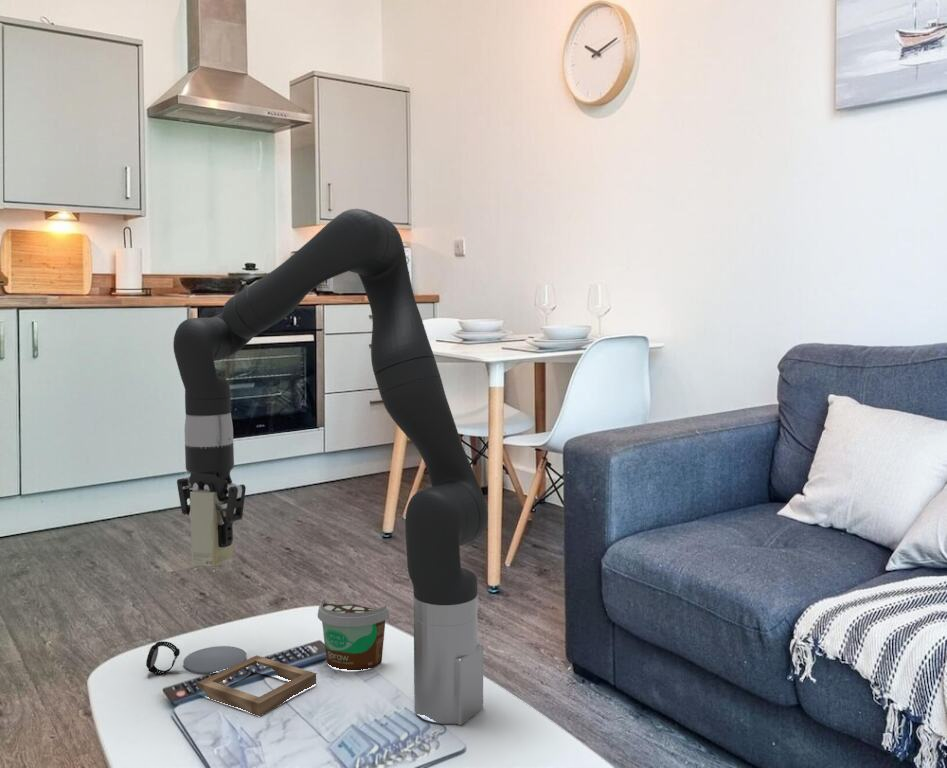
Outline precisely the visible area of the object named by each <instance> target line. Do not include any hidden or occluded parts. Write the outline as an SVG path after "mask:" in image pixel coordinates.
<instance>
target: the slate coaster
mask: <svg viewBox="0 0 947 768" xmlns="http://www.w3.org/2000/svg"><path fill="white" fill-rule="evenodd" d="M245 660H247V652H246V651H245V650H244V649H242V648H240V647H238V646H237V647H236V646H230V645H217V646H210V647H205V648H201V649H198V650H195V651H193V652H191V653H189V654H188V655H187V656H185V657H184V658H183V668H184V670H186V671H188V672H189V673H192V674H197V675H211V674H210V673H213V672H216V671H220V670H223V669H227V668H230V667H232V666H234V665H236V664H238V663H241V662H243V661H245Z"/></svg>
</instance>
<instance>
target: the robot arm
mask: <svg viewBox="0 0 947 768" xmlns="http://www.w3.org/2000/svg"><path fill="white" fill-rule="evenodd" d="M400 233H401V232H399V230H398V228H397V227H396V226H395V225H394V224H393V223H392V222H391V221H390V220H388V219H387V218H385V217H383V216H381V215H378V214H376V213H374V212H371V211H368V210H366V209H362V208H361V209H360V208H350V209H347V210H345V211H342V212H340V214H338V215H337V216H335V217H334V218H333V219H331V220H330V221H329V222H328V223H327V224H326V225H325V226H323V228H321V229H320V230H319V231H318V232H317V233H316V234H314V235H313V237H312V238H310V240H309V241H307V242H306V243H305V244H303V246H301V247H300V248H299V249H298V250H297V251H296V252H294V253H293V254H292V255H291V256H290V257H289V258H287V259H286V260H285V261H284V262H282V263H281V264H280V265H279V266H277V267H275V269H273V270H272V271H271V272H269V273H267V274H266V275H264V276H262V277H261V278H259V279H258V280H256V281H255V282H254V283H252V284H250V285H249V286H247V287H245V288H244V289H243V290H241V291H239V292H238V293H236V294H235V295H233V296H231V297H230V298H229V299H228V300H227V301H226V302H225V304H224V305H223V309H222V312H220V313H218V314H217V315H215V316H213V317H190V318H187V319H184V320H183V321H181V323H180V324H179V325H178V326H177V328H176V330H175V333H174V336H173V354H174V357H175V361H176V365H177V367H178V371H179V372H178V373H179V374H180V378H181V381H182V385H183V387H184V409H185V412H184V413H185V420H184V453H185V455H184V457H185V470H186V472H188V473H190V475H189V476H186V477H182V478H179V479H177V480H176V484H177V485H176V486H177V491H178V497H179V504H180V509H181V513H182V514H183V515H184V516H185V515H187V516H188V518H189V520H191V511H190V505H189V504H188V499H189V500H190V492H192V491H194V490H195V491H196V490H204V491H205V492H217V497H218V500H219V501H221V502H223V501H224V500H225V504H223V505H219V504H218V503H217V501H216V503H215V510H216V511H217V520H218V523H219V525H218V545H219V547H222V548H224V547H227V546H230V545H231V544H232V541H233V539H234V537H233V536H234V535H233V533H234V532H233V530H234V529H233V524H234V522H237V521H240V520H242V519H243V514H244V505H245V498H246V488H247V487H246V485H245V484H237V483H233V480H232V478H231V471H232V470H233V469H234V467H235V455H234V451H235V450H234V449H235V448H234V426H233V419H232V413H231V412H232V407H231V405H232V403H231V386H230V383H229V381H228V380H227V378H225V377H222V376H219V375H218V373H217V369H216V364H215V362H217V361H222V360H225V359H227V358H229V357H231V356H233V355H234V354H236V353H237V352H239V351H240V350H241V349H243V348H244V346H246V345H247V344H248V343H249V342H251V340H252V339H253V338H254V337H256V336H257V335H259V334H261V333H263V332H264V331H266V330H268V329H270V328H271V327H273V326H274V325H275V324H278V323H279V322H280V321H282V320H283V319H285V318H286V317H288V316H289V315H290V314H291V313H292V312H293V311H294V310H296V308H298V306H299V305H300V303H301V302H302V301H303V300H304V299H305V297H307V295H308V294H309V293H310V292H311V291H312V290H313V289H315V288H316V287H317V286H320V284H322V283H324V282H326V281H327V280H330V279H332V278H335V277H337V276H339V275H342V274H345V273H347V272H348V273H349V272H350V273H351V272H352V273H354V274H358V276H359V279H360V281H361V283H362V286H363V287H364V292H365V294H366V297H367V298H366V299H367V300H368V302H369V306H370V312H371V319H372V320H371V321H372V331H371V340H370V341H371V342H370V345H371V346H370V357H371V358H370V359H371V366H372V371H373V375H374V378H375V381H376V384H377V388H378V391H379V395H380V398H381V402H382V403H383V406H384V408H385V410H386V411H387V414H388V415H389V416H390V417H391V419H392V421H393V422H394V423H395V424H396V425H397V426H398V427H399V429H400V430H401V431H402V432H403V434H404V435H405V436H406V437H407V438H408V440H410V442H411V443H412V444H413V445H414V447H415V449H416V450H417V451H418V452H419V455H420V457H421V458H422V460H423V462H424V463H423V464H424V466H425V468H426V471H427V475H428V476H429V480H430V484H431V486H430V487H426V488H423V489H421V490H419V491H417V492H415V493H414V494H413V495H412V497H411V498H410V500H409V501H408V503H407V504H408V505H407V508H406V512H405V520H404V524H405V526H404V527H405V529H404V530H405V532H404V533H405V544H406V545H405V546H406V548H405V549H406V564H407V566H406V567H407V571H408V575H409V579H410V581H411V584H412V587H413V588H412V589H413V592H412V593H413V689H414V690H413V695H414V697H413V698H414V700H413V701H414V706H413V707H414V713H415V715H416V714H420V715H425V716H427V717H429V718H430V719H433V720H434V721H436V722H437V723H436V724H441V725H442V724H443V725H445V724H449V725H450V724H455V725H459V726H462V725H463V724H465V723H466V722H467V721H468V720H470V719H471V718H473V717H474V716H475V715H477V714H478V713H479V712H481V711H483V709H484V647H483V645H481V644H479V643H478V577H477V575H476V574H475V573H474V572H473V571H471V570H470V569H467V568H464V567H462V564H461V550H460V546H463V545H466V544H468V543H471V542H473V541H475V540H478V538H480V536H482V534H484V532H485V530H486V527H487V524H488V518H489V517H488V507H487V503H486V502H487V501H486V499H485V496H484V493H483V491H482V488H481V486H480V483H479V481H478V478H477V475H476V473H475V472H474V470H473V467H472V464H471V463H470V459H469V458H468V456H467V453H466V451H465V448H464V446H463V444H462V441H461V437H460V435H459V432H458V429H457V428H458V427H457V426H456V422H455V420H454V417H453V414H452V411H451V408H450V405H449V402H448V398H447V395H446V392H445V387H444V384H443V381H442V378H441V373H440V370H439V367H438V364H437V361H436V358H435V355H434V352H433V349H432V346H431V343H430V341H429V337H428V335H427V332H426V328H425V325H424V322H423V319H422V316H421V313H420V310H419V307H418V305H417V302H416V301H417V300H416V298H415V295H414V291H413V285H412V280H411V277H410V276H411V275H410V271H409V266H408V260H407V257H406V256H407V255H406V251H405V245H404V242H403V239H402V236H401V234H400ZM222 510H224V511H225V513H226V516H224V515H223V512H222ZM233 542H234V541H233Z"/></svg>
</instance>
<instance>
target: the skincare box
mask: <svg viewBox="0 0 947 768" xmlns="http://www.w3.org/2000/svg"><path fill="white" fill-rule="evenodd" d="M216 501H217V503H218V504H219V505H223V504H225V500H224V501H223V502H221V501H219V500H218V497H217V492H205V491H204V490H196V491H195V490H194V491H192V492H190V499H189V506H190V511H191V519H190V544H191V545H190V549H191V550H190V551H191V565H192V566H195V567H196V566H197V567H203V568H204V567H207V568H210V567H211V568H215V567H218V566H220V565H221V564H222V565H223V563H225V562H227V561H229V560H231V559H232V558H233V557H234V550H233V549H234V546H233V545H234V544H233V543H234V541H232V544H231V545H230V546H227V547H224V548H222V547H219V545H218V525H219V523H218V520H217V511H216V510H215V503H216ZM222 512H223V515H224V516H226V513H225V511H224V510H222Z"/></svg>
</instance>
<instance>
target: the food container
mask: <svg viewBox="0 0 947 768" xmlns="http://www.w3.org/2000/svg"><path fill="white" fill-rule="evenodd" d="M317 618H318V619H319V621H321V622H322V623H321V625H322V631H323V641H324V650H325V657H326V658H325V659H326V664H327V663H328V664H329V665H331V666H332V667H336V668H339V669H347V670H361V669H362V670H363V669H368V668H372V669H375V668H377V667H378V666H380V665H382V662H383V653H384V652H383V651H384V640H385V631H386V620H387V619H389V618H390V614H389V608H387V604H385V605H383V606H381V607H379V608H370V607H366V606H362V605H359V604H355V603H353V604H351V603H350V604H335V603H333V604H332V603H327V602H326V599H325V597H324V598H322V600H320V604H319V606H318V612H317ZM328 664H327V665H328Z"/></svg>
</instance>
